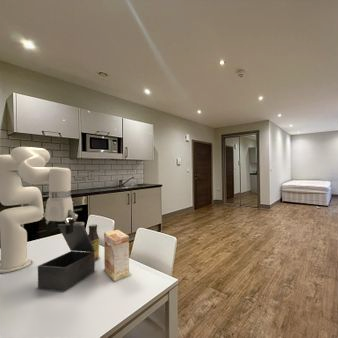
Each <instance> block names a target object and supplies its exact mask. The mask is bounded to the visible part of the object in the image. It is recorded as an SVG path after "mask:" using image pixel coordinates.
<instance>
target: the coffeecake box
mask: <svg viewBox="0 0 338 338" xmlns="http://www.w3.org/2000/svg"><path fill="white" fill-rule="evenodd" d="M129 239H130V236H129V235H128V234H126V233H124V232H123V231H121V230H120V229H115V230H109V231H104V232H103V244H104V245H103V246H104V247H103V250H104V251H103V253H104V255H103V256H104V257H103V259H104V272H106V274H107V275H108V276H109V277H110V278H111V280H113V281H114V282H116V281H119V280H120V279H123V278H127V277H129V276H130V240H129Z"/></svg>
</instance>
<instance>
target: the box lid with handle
mask: <svg viewBox="0 0 338 338" xmlns="http://www.w3.org/2000/svg"><path fill="white" fill-rule="evenodd" d="M85 224H86V223H85V222H84V221H75V223H74V224H73V232H72V233H69V234H65V226H66V225H67V224H66V223H64V224H63V223H59V224H57V227H58V229H59V231H60V232H61V235H62V237H63V239H64V240H65V242H66V245H67V246H68V248H69V250H70V251H79V252H95V249H94V247H93V245H92V243H91V241H90V238H89V236H88V234H89V233H88V232H87V230H86V227H85Z"/></svg>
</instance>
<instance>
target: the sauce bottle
mask: <svg viewBox="0 0 338 338" xmlns="http://www.w3.org/2000/svg"><path fill="white" fill-rule="evenodd" d="M97 228H98V224H96V223H94V224H89V225H88V233H87V234H88V236H89V238H90V241H91V243H92V245H93V247H94V249H95V252H94V253H95V261H97V260H98V259H99V258H100V257H99V256H100V237H99V234H98V229H97Z"/></svg>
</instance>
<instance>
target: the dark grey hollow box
mask: <svg viewBox="0 0 338 338" xmlns="http://www.w3.org/2000/svg"><path fill="white" fill-rule="evenodd" d="M95 262H96V260H95V253H94V252H84V251H71V250H70V251H68V252H66V253H64V254H62V255H59V256H57V257H55V258H52V259H51V260H48V261H46V262H43V263H42V264H39V265H38V266H37V289H39V290H48V291H49V290H50V291H59V292H66V291H68V290H69V289H71V288H72V287H74V286H75V285H77V284H78V283H80V282H81V281H83V280H84V279H86V278H88V277H90V276H91V275H92V274H94V273H95V271H96V269H95V267H96V266H95V265H96V264H95Z"/></svg>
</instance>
